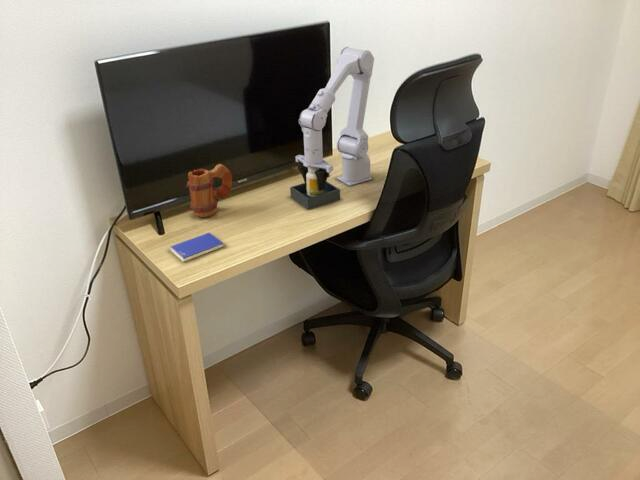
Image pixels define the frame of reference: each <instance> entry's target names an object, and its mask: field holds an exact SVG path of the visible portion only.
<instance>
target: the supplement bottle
mask: <svg viewBox="0 0 640 480" xmlns="http://www.w3.org/2000/svg"><path fill="white" fill-rule="evenodd" d="M317 170H319V168H316V167H310V166H309V167H308V172H307V174H306V185H307V195H308V196H311V197H314V196H317V195H320V194H323V190H321V191H319V189H318V181H317V177H316V175H315V171H317Z"/></svg>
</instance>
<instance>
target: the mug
mask: <svg viewBox="0 0 640 480" xmlns="http://www.w3.org/2000/svg"><path fill="white" fill-rule="evenodd" d="M192 171H193V170H192ZM192 171H189V172H188V174H187V179H188V180H189V181H188V180H187V183H186V185H185V188H186V189H188V190H189V195H190V201H191V202H190V206H189V207H188V209H189V210H190V211H192V213H193V215H195V216H197V217H200V218H201V217H202V218H206V217H210V216H212V215H214V214H215V213H216V212H217V211H218V202H219V199H218V198H221V199H224V200H225V199H226V198H227V197H228V195H229V194H230V191H231V189H232V186H233V176H232V172H231V171H230V170H229V169H228V167H226V165H224V164H222V163H218V164H216V165H215V167H214V168H213V169H210V170H208V169H205V168H199V169H197V170H195V169H194V171H193V172H192ZM215 178H219V179H222V180H221V181H222V182H221V185H220V187H219V188H214V182H215ZM217 197H218V198H217Z"/></svg>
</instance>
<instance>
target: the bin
mask: <svg viewBox="0 0 640 480" xmlns="http://www.w3.org/2000/svg"><path fill="white" fill-rule="evenodd" d="M289 191H290V192H289V193H290V198H291V199H292V200H294V201H295V202H297V203H298V204H299V205H301V206H302V207H304V208H305V209H307V210H312V209H315V208H318V207H322V206H325V205H328V204H331V203H334V202H337V201H340V200H341V189H340V188H338V187H336V186H335V185H333V184H332V183H330V182H328V181H327V180H326V184H325V188H324V189H323V194H320V195H317V196H314V197H311V196H308V195H307V186H306V185H305V182H303V183H299V184H296V185H293V186H290V187H289Z"/></svg>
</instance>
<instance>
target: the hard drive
mask: <svg viewBox="0 0 640 480" xmlns="http://www.w3.org/2000/svg"><path fill="white" fill-rule="evenodd" d="M223 247H224V243H223V242H222V241H221V240H220V239H219V238H217V237H216V236H214V235H213V234H212V232H207V233H204V234H201V235H198V236H195V237H193V238H190V239H187V240H185V241H181V242H179V243H176V244H173V245H171V246H169V249H170V252H171V253H172V254H174V255H175V256H176V257H177V258H178V259H180V260H181V261H182V262H186V261H189V260H193V259H195V258H197V257H201V256H203V255H205V254H207V253H211V252H212V251H215V250H218V249H220V248H223Z"/></svg>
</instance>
